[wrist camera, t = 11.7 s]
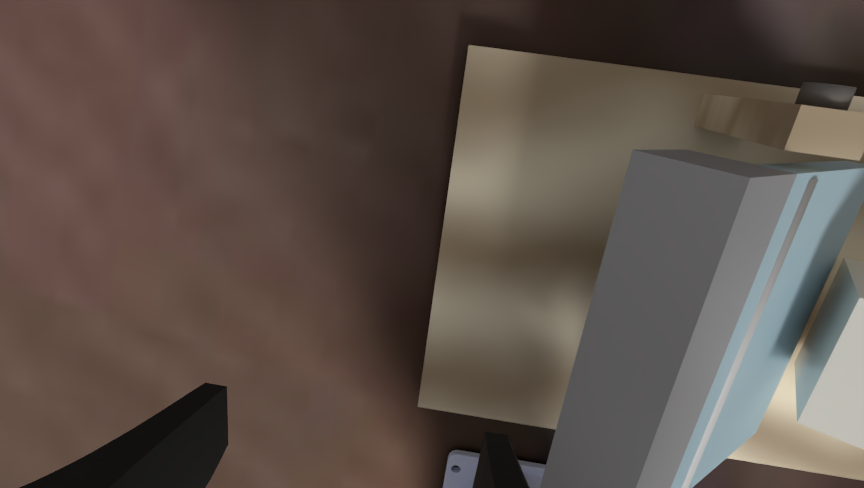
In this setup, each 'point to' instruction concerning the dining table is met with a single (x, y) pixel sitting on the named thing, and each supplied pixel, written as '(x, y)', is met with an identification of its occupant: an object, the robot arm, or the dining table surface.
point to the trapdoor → (696, 313)
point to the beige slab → (596, 222)
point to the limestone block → (835, 361)
